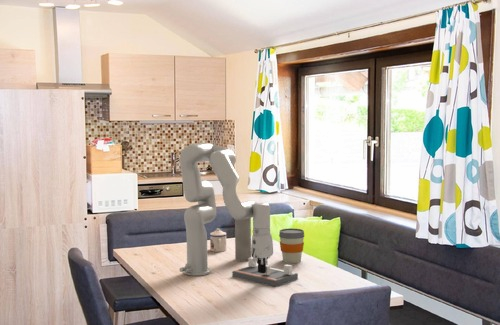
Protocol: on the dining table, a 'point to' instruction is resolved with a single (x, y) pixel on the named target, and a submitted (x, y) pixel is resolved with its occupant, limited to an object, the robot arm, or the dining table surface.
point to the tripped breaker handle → (267, 270)
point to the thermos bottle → (243, 239)
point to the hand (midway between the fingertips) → (261, 272)
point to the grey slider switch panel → (273, 279)
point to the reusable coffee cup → (291, 244)
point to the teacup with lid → (218, 241)
